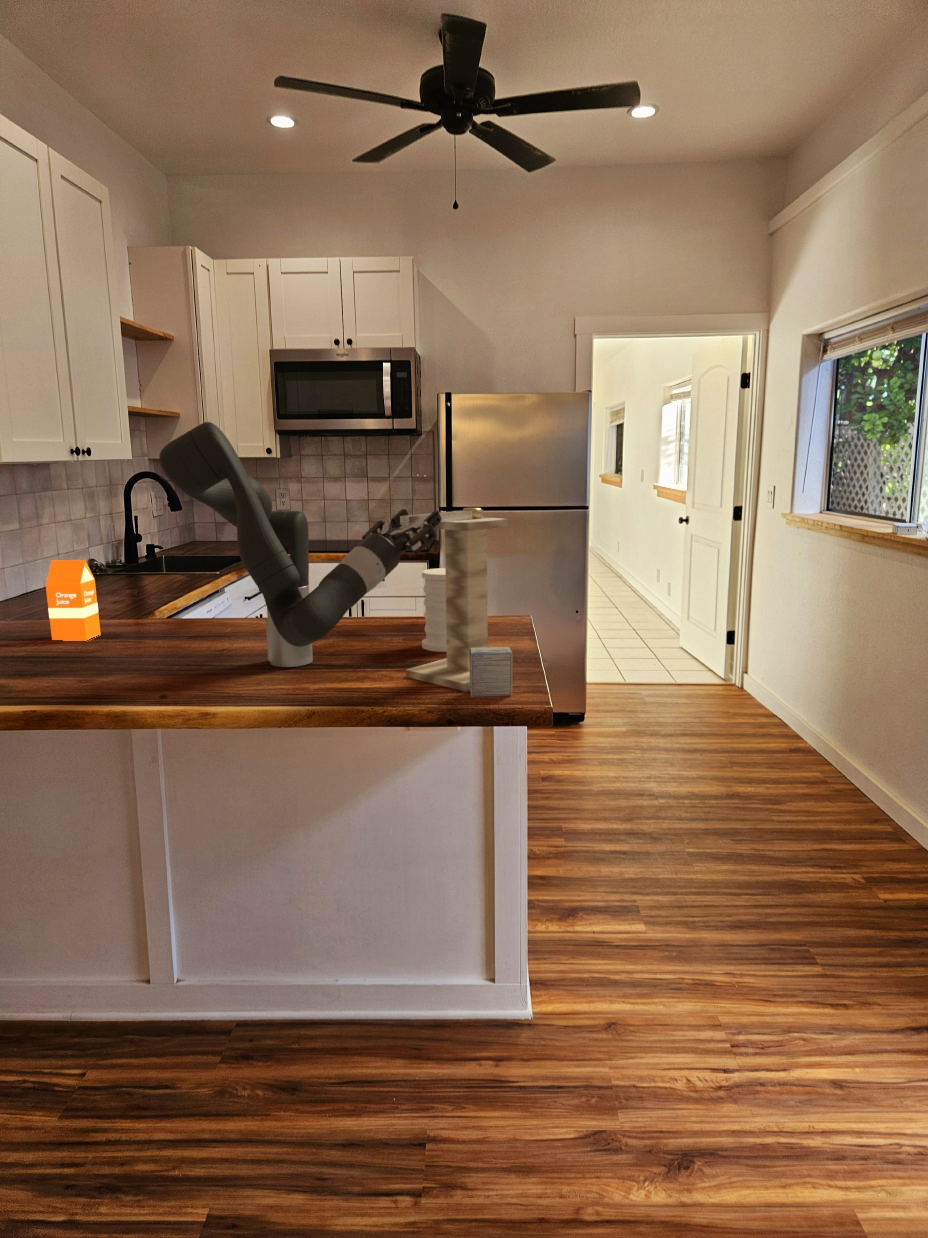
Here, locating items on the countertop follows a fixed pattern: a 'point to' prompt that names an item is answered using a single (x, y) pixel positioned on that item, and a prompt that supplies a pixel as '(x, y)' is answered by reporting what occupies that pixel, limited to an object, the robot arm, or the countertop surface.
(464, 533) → the tool stand
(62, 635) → the orange juice
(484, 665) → the medicine box
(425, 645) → the decorative container
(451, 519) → the slotted wooden block
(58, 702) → the countertop surface
